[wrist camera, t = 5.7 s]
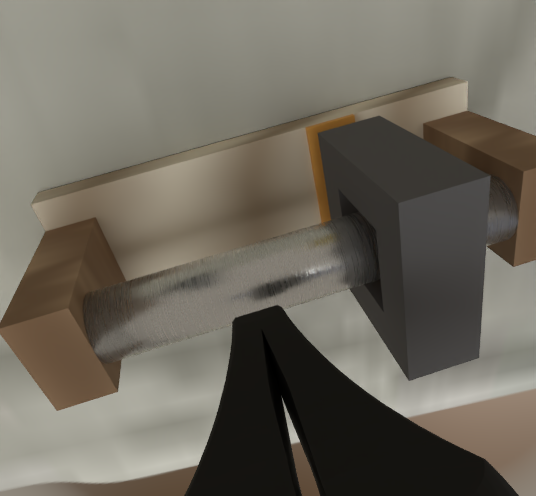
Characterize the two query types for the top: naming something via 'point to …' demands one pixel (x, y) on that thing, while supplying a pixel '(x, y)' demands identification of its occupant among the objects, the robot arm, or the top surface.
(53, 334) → the pipe stand
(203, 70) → the top surface
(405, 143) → the collar
